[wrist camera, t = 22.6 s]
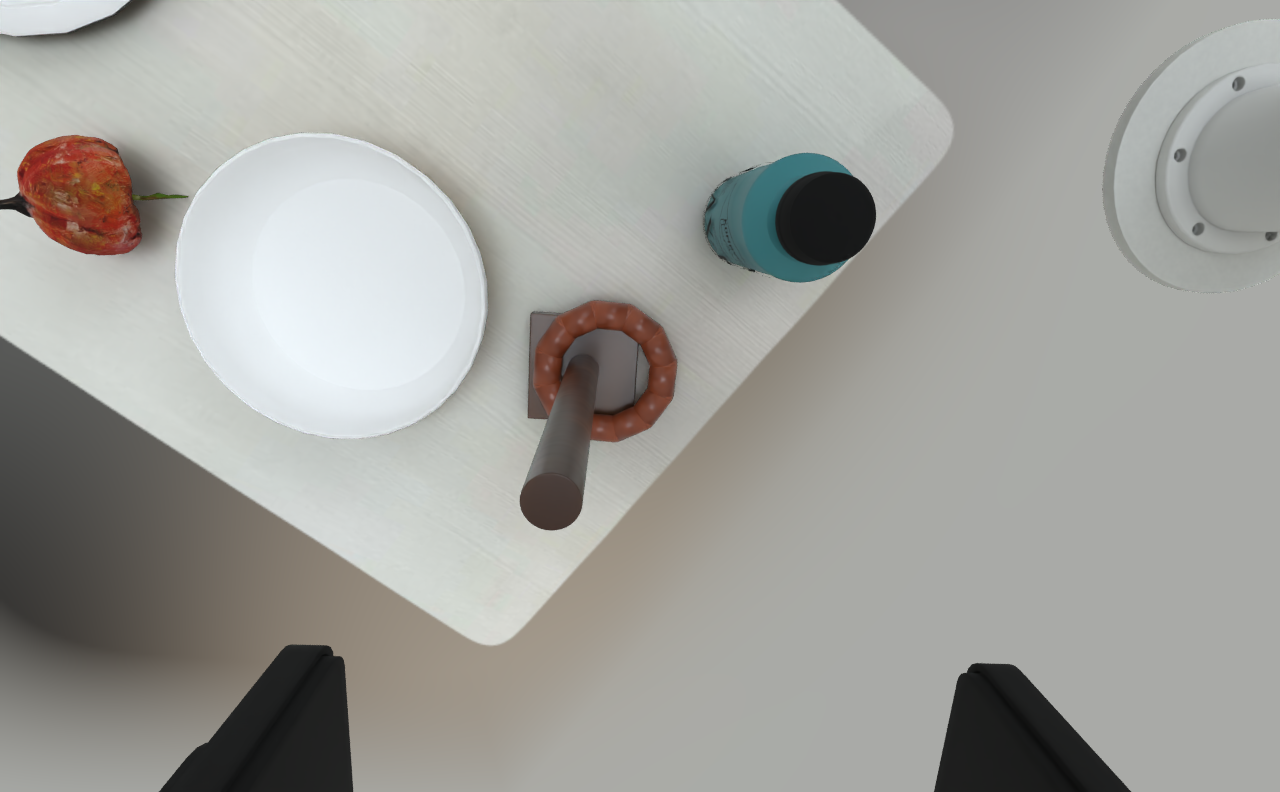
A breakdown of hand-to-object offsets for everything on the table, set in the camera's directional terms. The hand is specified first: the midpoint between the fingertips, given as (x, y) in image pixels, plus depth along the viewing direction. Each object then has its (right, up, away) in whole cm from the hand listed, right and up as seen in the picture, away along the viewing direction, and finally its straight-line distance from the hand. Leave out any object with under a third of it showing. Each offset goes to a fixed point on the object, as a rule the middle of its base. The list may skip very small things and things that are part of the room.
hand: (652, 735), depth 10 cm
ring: (-3, +7, +37) cm, 38 cm away
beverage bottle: (+7, +18, +37) cm, 42 cm away
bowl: (-20, +13, +37) cm, 44 cm away
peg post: (-5, +7, +39) cm, 40 cm away
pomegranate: (-36, +19, +35) cm, 54 cm away
